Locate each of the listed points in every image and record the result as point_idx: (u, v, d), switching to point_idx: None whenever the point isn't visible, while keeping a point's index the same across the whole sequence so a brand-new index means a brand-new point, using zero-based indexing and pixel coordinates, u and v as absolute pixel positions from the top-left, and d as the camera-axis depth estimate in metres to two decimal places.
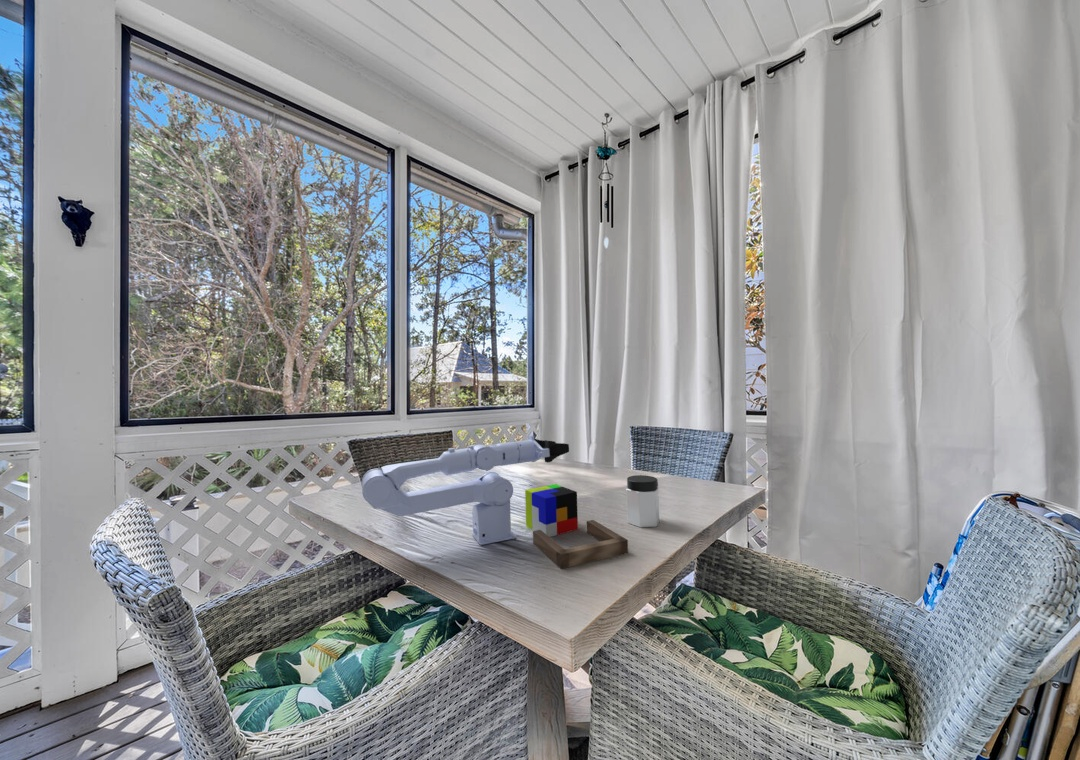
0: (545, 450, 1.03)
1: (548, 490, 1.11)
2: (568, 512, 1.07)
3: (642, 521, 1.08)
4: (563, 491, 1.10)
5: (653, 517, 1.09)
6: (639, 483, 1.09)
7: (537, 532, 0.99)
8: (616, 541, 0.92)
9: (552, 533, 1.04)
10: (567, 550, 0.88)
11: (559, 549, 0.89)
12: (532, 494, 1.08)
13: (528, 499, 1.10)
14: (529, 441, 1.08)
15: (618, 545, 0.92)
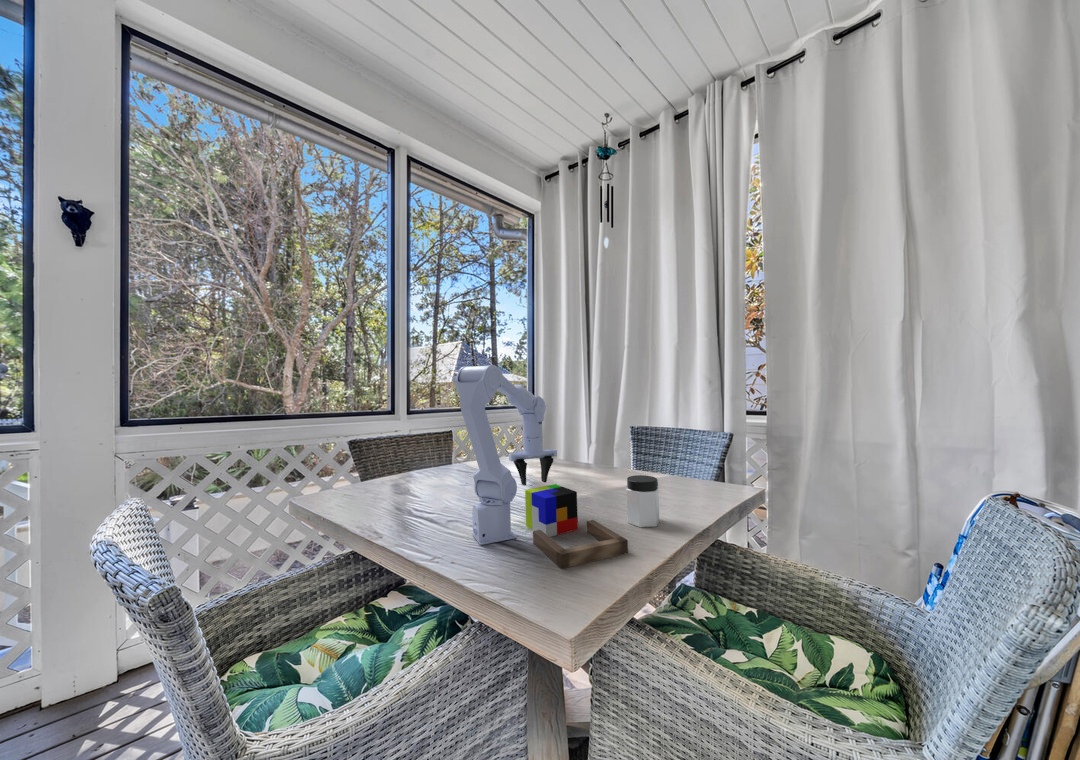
0: None
1: (548, 490, 1.11)
2: (568, 512, 1.07)
3: (642, 521, 1.08)
4: (563, 491, 1.10)
5: (653, 517, 1.09)
6: (639, 483, 1.09)
7: (537, 532, 0.99)
8: (616, 541, 0.92)
9: (552, 533, 1.04)
10: (567, 550, 0.88)
11: (559, 549, 0.89)
12: (532, 494, 1.08)
13: (528, 499, 1.10)
14: None
15: (618, 545, 0.92)
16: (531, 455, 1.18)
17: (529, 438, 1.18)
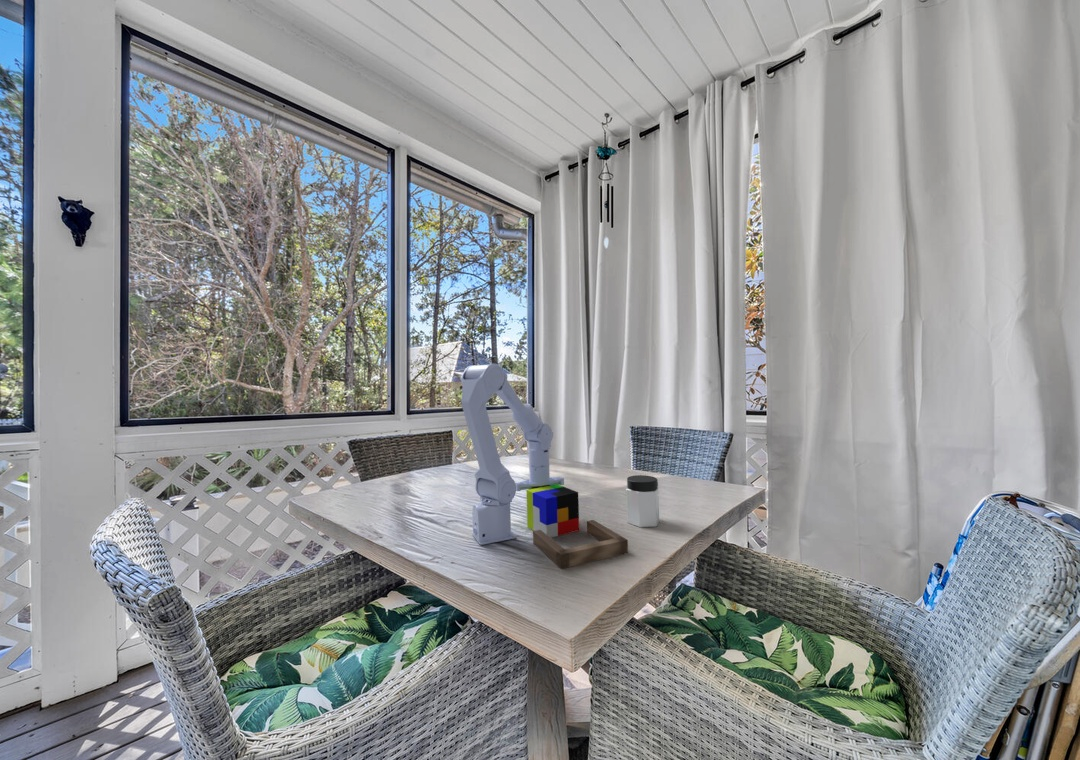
0: None
1: (549, 490, 1.10)
2: (570, 512, 1.06)
3: (642, 521, 1.08)
4: (564, 491, 1.09)
5: (653, 517, 1.09)
6: (639, 483, 1.09)
7: (537, 532, 0.99)
8: (616, 541, 0.92)
9: (553, 534, 1.04)
10: (567, 550, 0.88)
11: (559, 549, 0.89)
12: (533, 494, 1.08)
13: (530, 499, 1.10)
14: None
15: (618, 545, 0.92)
16: (538, 484, 1.14)
17: (536, 467, 1.14)
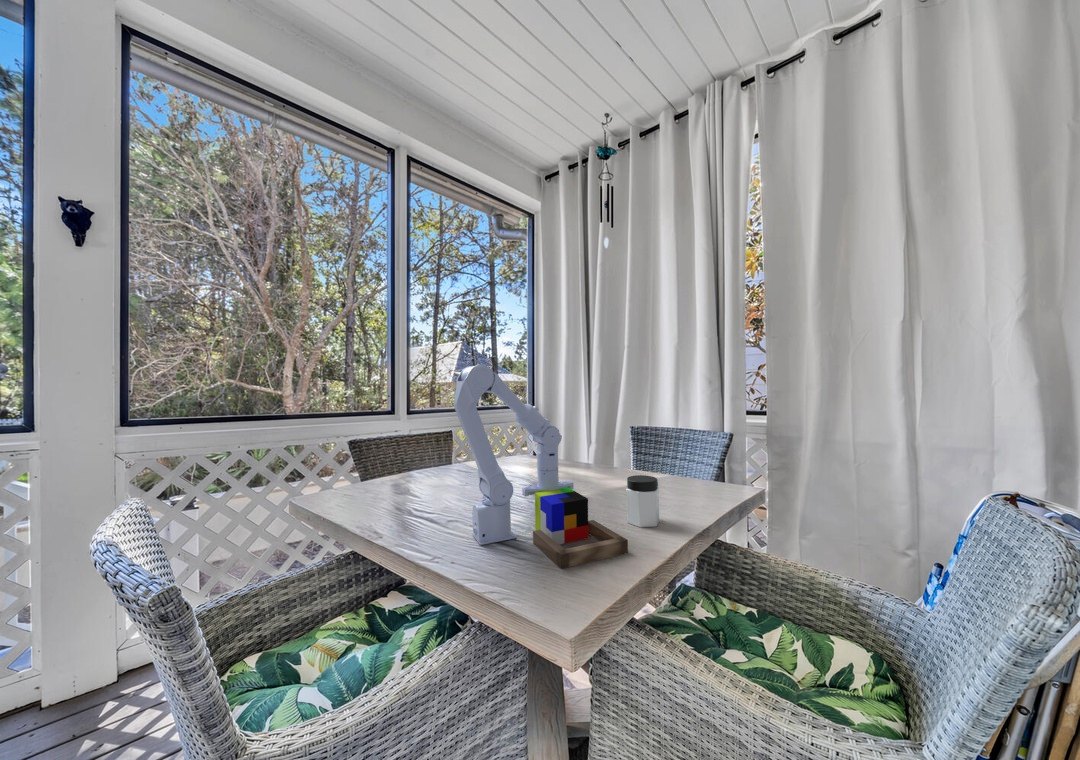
0: None
1: (558, 495, 1.05)
2: (578, 519, 1.01)
3: (642, 521, 1.08)
4: (573, 496, 1.03)
5: (653, 517, 1.09)
6: (639, 483, 1.09)
7: (537, 532, 0.99)
8: (616, 541, 0.92)
9: (559, 541, 0.99)
10: (567, 550, 0.88)
11: (559, 549, 0.89)
12: (541, 498, 1.03)
13: (537, 503, 1.05)
14: None
15: (618, 545, 0.92)
16: (546, 489, 1.08)
17: (544, 471, 1.09)
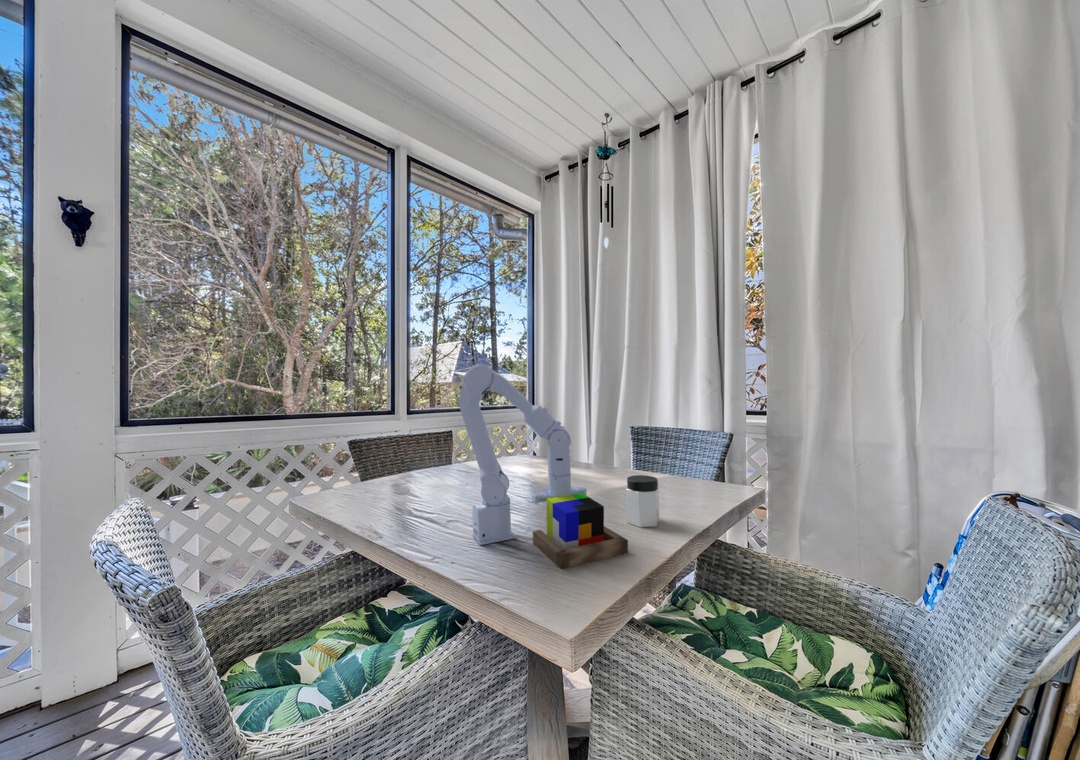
0: None
1: (572, 501, 0.98)
2: (593, 528, 0.94)
3: (642, 521, 1.08)
4: (588, 503, 0.97)
5: (653, 517, 1.09)
6: (639, 483, 1.09)
7: (537, 532, 0.99)
8: (616, 541, 0.92)
9: None
10: (567, 550, 0.88)
11: (559, 549, 0.89)
12: (553, 505, 0.97)
13: (549, 510, 0.99)
14: None
15: (618, 545, 0.92)
16: (558, 496, 1.02)
17: (556, 476, 1.02)
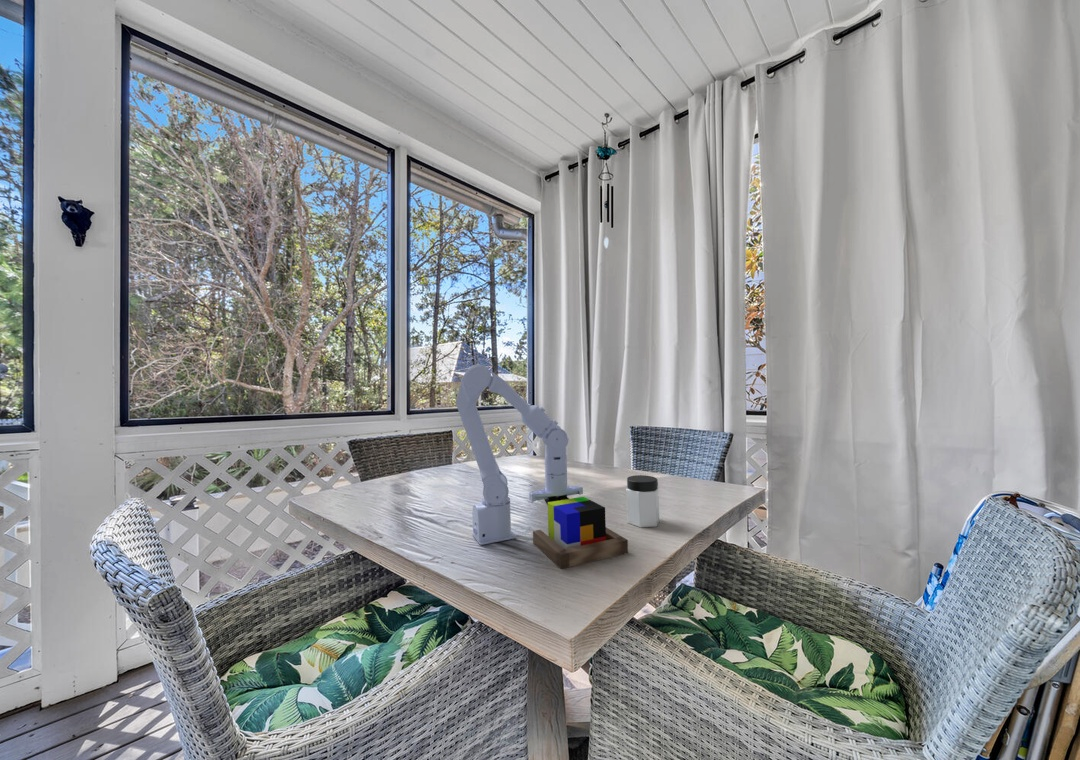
0: None
1: (573, 504, 0.98)
2: (595, 530, 0.94)
3: (642, 521, 1.08)
4: (589, 505, 0.96)
5: (653, 517, 1.09)
6: (639, 483, 1.09)
7: (537, 532, 0.99)
8: (616, 541, 0.92)
9: None
10: (567, 550, 0.88)
11: (559, 549, 0.89)
12: (554, 507, 0.96)
13: (551, 513, 0.98)
14: None
15: (618, 545, 0.92)
16: (555, 494, 1.04)
17: (552, 475, 1.04)
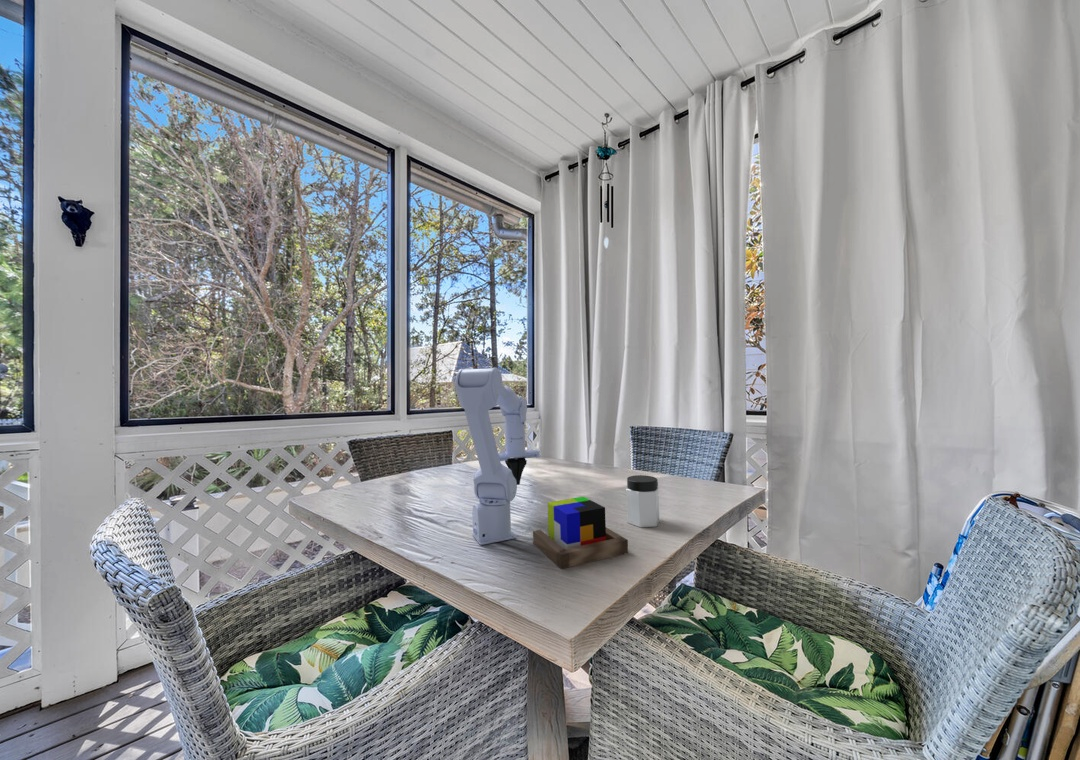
0: None
1: (573, 504, 0.98)
2: (595, 530, 0.94)
3: (642, 521, 1.08)
4: (589, 505, 0.96)
5: (653, 517, 1.09)
6: (639, 483, 1.09)
7: (537, 532, 0.99)
8: (616, 541, 0.92)
9: None
10: (567, 550, 0.88)
11: (559, 549, 0.89)
12: (554, 507, 0.96)
13: (551, 513, 0.98)
14: None
15: (618, 545, 0.92)
16: (513, 456, 1.17)
17: (511, 439, 1.17)
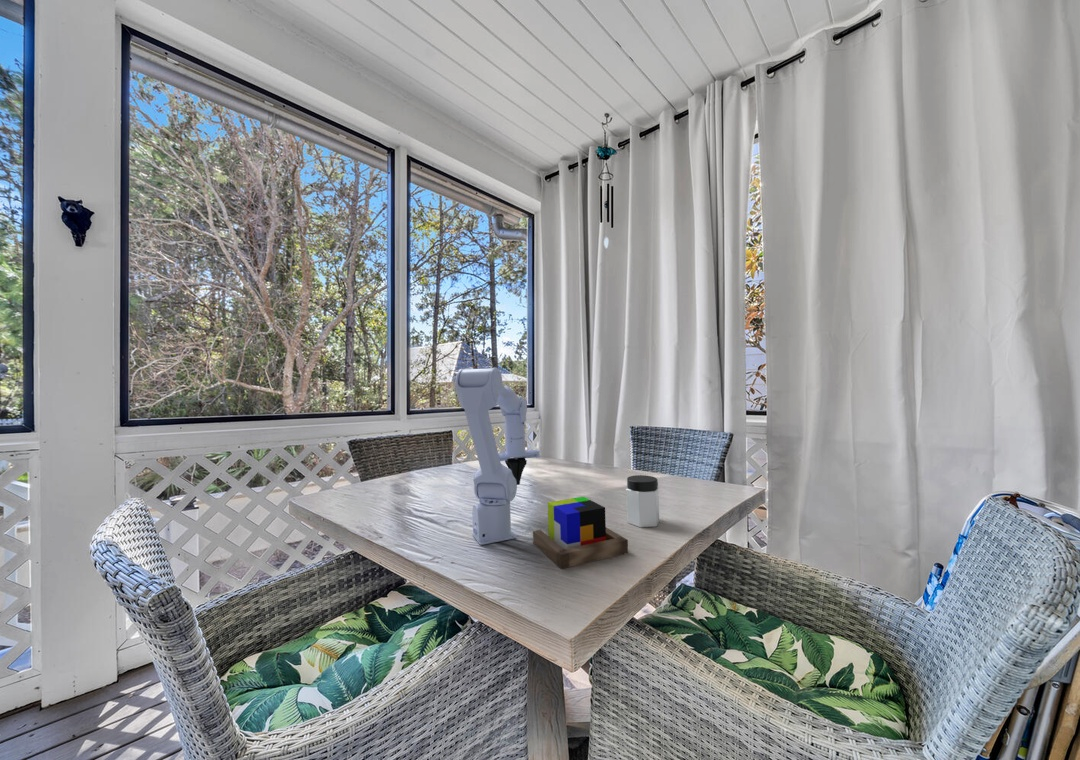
0: None
1: (573, 504, 0.98)
2: (595, 530, 0.94)
3: (642, 521, 1.08)
4: (589, 505, 0.96)
5: (653, 517, 1.09)
6: (639, 483, 1.09)
7: (537, 532, 0.99)
8: (616, 541, 0.92)
9: None
10: (567, 550, 0.88)
11: (559, 549, 0.89)
12: (554, 507, 0.96)
13: (551, 513, 0.98)
14: None
15: (618, 545, 0.92)
16: (513, 456, 1.17)
17: (511, 439, 1.17)
